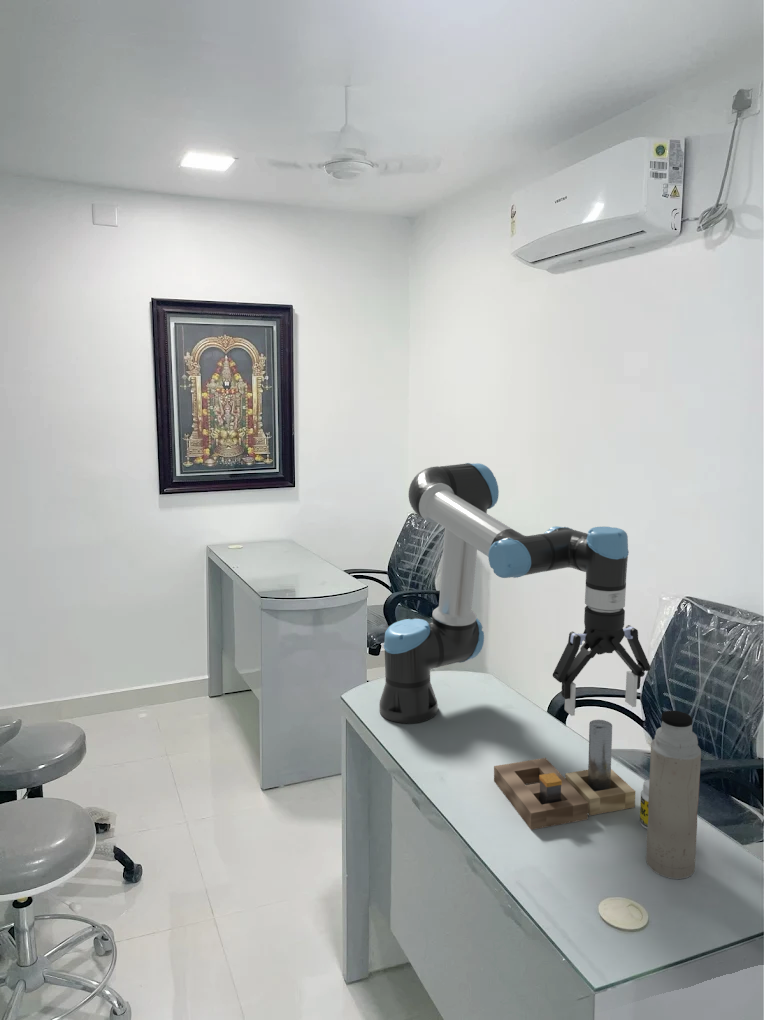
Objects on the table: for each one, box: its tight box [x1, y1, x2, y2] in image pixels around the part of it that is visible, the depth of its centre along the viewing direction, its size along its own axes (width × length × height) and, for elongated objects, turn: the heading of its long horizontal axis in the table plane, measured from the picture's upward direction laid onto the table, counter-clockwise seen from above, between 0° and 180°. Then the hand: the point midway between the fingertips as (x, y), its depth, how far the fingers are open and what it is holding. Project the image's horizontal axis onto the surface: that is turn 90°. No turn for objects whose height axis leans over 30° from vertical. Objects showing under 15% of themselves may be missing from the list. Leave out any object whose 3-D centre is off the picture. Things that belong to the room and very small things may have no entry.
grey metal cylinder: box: [587, 719, 613, 792], centre depth 149 cm, size 4×4×16 cm
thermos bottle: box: [645, 710, 702, 880], centre depth 127 cm, size 8×8×28 cm
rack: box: [564, 768, 636, 816], centre depth 150 cm, size 10×10×4 cm
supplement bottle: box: [639, 778, 650, 830], centre depth 140 cm, size 5×5×8 cm
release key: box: [539, 773, 562, 805], centre depth 145 cm, size 3×3×7 cm
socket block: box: [493, 757, 589, 831], centre depth 150 cm, size 18×12×4 cm, turn 14°
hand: (600, 708), depth 147 cm, fingers open, 13 cm apart
